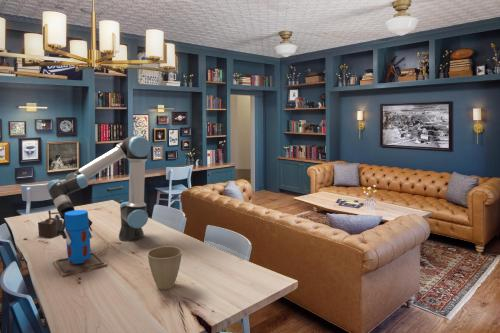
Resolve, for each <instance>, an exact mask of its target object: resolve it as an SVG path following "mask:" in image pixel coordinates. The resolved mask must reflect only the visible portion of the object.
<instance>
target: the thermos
mask: <svg viewBox="0 0 500 333" xmlns="http://www.w3.org/2000/svg"><path fill="white" fill-rule="evenodd" d="M88 218H89V213H88V210H85V209H77V210H76V209H75V210H74V211H69V212H66V213H65V230H64V231H67V234H68V236H69V238H70V240H71V243H70V245H68V243H67V241H66V240H65V242H66V253H67V258H68V262H69V263H71V264H79V263H84V262H87V261H89V260H90V259H91V253H92V250H91V239H90V236H89V221H88Z"/></svg>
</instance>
